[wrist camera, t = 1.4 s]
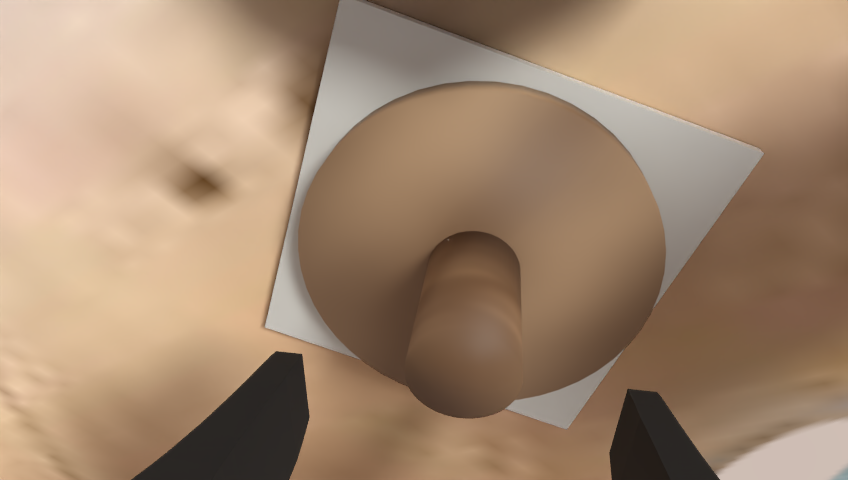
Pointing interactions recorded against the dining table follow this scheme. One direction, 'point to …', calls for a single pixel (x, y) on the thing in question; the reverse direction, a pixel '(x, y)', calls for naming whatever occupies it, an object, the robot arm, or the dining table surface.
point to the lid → (481, 244)
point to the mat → (471, 61)
